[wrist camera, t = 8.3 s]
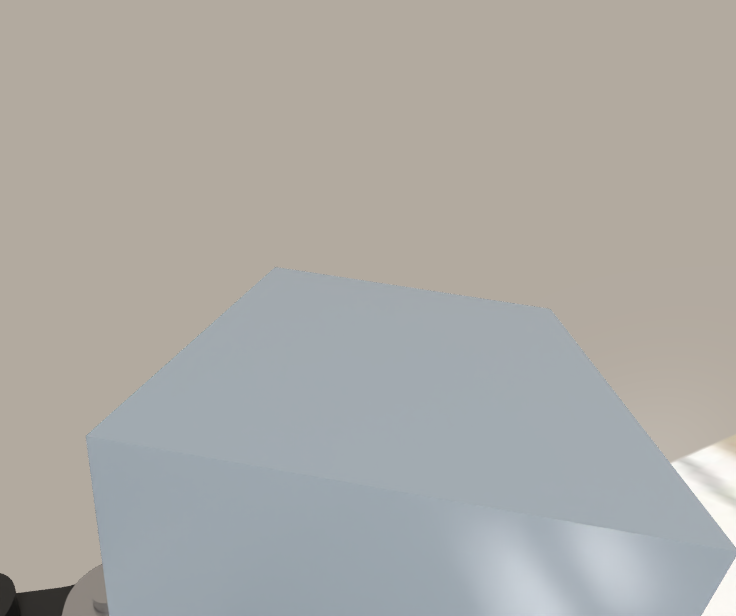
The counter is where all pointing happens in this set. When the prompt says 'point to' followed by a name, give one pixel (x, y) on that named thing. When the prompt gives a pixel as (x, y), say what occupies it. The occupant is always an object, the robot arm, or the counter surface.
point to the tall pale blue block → (391, 469)
